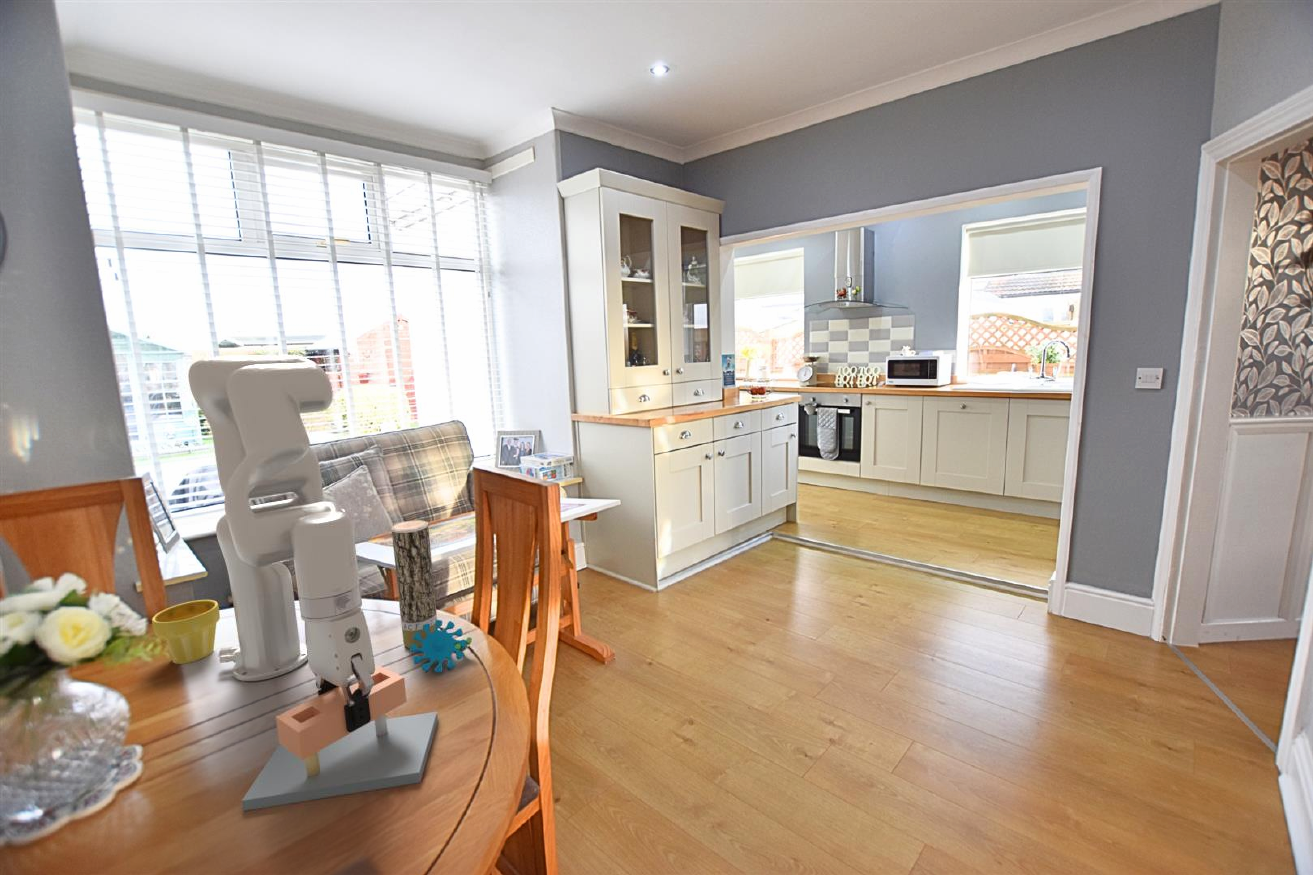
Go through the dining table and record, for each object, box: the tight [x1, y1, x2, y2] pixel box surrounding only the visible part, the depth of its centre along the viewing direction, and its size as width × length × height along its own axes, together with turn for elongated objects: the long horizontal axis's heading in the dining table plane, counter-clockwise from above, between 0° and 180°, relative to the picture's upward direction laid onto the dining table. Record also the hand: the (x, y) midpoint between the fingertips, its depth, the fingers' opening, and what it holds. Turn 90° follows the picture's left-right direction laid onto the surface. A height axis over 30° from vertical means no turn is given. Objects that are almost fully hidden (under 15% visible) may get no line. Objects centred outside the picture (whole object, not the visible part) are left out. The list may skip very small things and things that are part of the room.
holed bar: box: [275, 665, 407, 760], centre depth 83 cm, size 15×6×4 cm, turn 146°
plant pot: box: [151, 599, 221, 665], centre depth 117 cm, size 10×10×10 cm
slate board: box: [241, 711, 439, 812], centre depth 84 cm, size 22×14×6 cm, turn 101°
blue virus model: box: [409, 619, 473, 674], centre depth 112 cm, size 11×6×10 cm
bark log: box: [391, 519, 438, 649], centre depth 118 cm, size 7×7×25 cm
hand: (345, 717), depth 84 cm, fingers closed on holed bar, 6 cm apart
